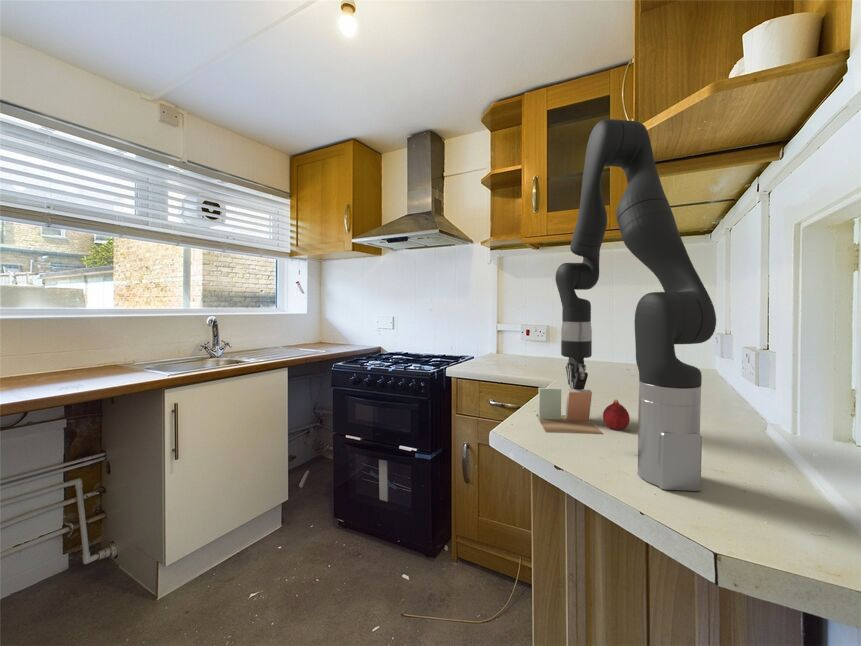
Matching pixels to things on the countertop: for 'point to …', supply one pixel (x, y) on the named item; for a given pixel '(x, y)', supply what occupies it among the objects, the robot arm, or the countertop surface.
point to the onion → (616, 416)
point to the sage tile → (549, 403)
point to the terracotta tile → (578, 404)
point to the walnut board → (569, 426)
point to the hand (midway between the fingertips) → (575, 403)
